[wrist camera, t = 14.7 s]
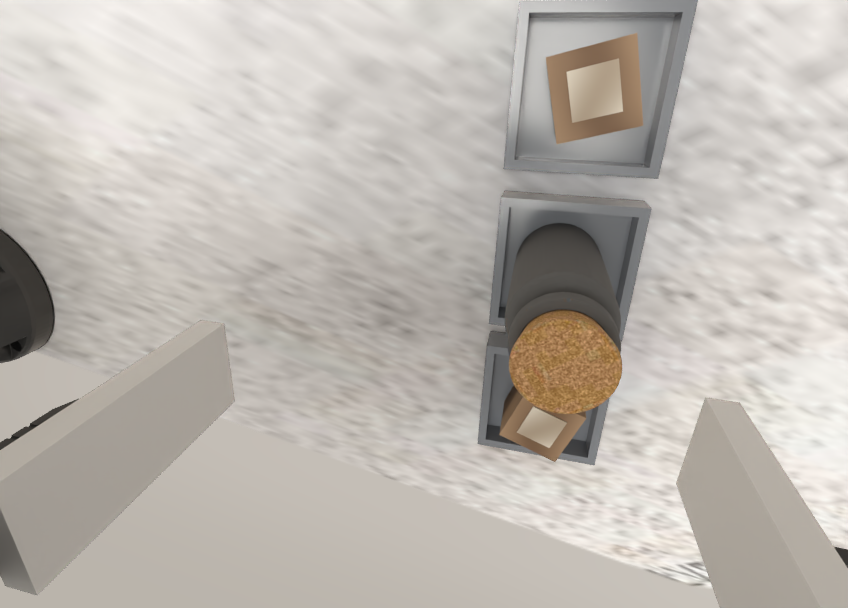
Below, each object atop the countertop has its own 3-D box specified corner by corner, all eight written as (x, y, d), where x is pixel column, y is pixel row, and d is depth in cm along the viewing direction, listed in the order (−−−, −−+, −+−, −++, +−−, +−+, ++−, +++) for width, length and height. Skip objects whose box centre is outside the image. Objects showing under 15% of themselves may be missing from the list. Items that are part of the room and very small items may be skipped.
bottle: (607, 292, 34) (646, 418, 20) (525, 306, 36) (511, 431, 22) (593, 212, 32) (626, 294, 19) (507, 232, 34) (481, 320, 20)
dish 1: (506, 164, 33) (503, 168, 30) (521, 7, 29) (519, 0, 27) (650, 173, 31) (658, 178, 29) (686, 6, 27) (698, -2, 25)
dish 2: (492, 310, 37) (488, 323, 35) (504, 190, 33) (500, 197, 31) (617, 325, 35) (622, 341, 33) (644, 200, 31) (651, 208, 29)
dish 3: (481, 425, 41) (477, 443, 39) (490, 331, 38) (486, 345, 36) (591, 444, 40) (594, 465, 37) (612, 347, 36) (616, 363, 34)
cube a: (555, 138, 31) (556, 144, 27) (546, 63, 29) (545, 57, 25) (630, 122, 29) (643, 126, 25) (624, 42, 28) (637, 32, 24)
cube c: (504, 400, 39) (499, 435, 35) (529, 358, 37) (527, 390, 33) (554, 424, 39) (555, 462, 35) (582, 383, 37) (586, 419, 33)
